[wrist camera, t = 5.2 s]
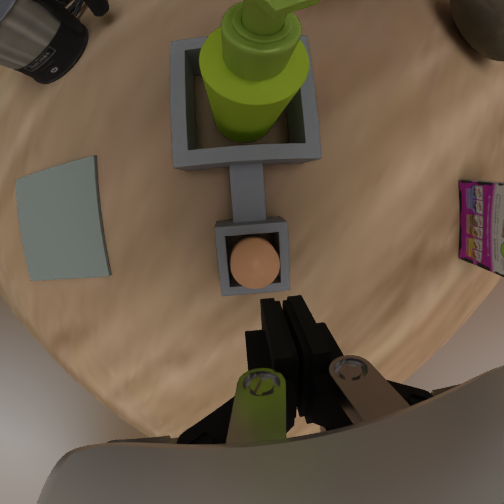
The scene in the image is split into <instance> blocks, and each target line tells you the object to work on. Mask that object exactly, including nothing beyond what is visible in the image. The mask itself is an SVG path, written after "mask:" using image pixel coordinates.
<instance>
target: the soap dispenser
mask: <svg viewBox="0 0 504 504" xmlns="http://www.w3.org/2000/svg"><path fill="white" fill-rule="evenodd" d="M318 2H319V0H243V2H240V3H238V4H236V5H234V6H232V7H231V8H230V9H229V10H228V11H227V12H226V13H225V15H224V16H223V19H222V22H221V27H219V28H217V29H216V30H215V31H214V32H212V33H211V34H210V35H209V36H208V38H207V39H206V40H205V42H204V44H203V46H202V48H201V51H200V55H199V66H200V71H201V74H202V78H203V81H204V85H205V88H206V92H207V96H208V99H209V103H210V106H211V110H212V113H213V117H214V121H215V124H216V126H217V128H218V130H219V131H220V132H221V133H222V134H223V135H224V136H225V137H227V138H229V139H231V140H233V141H236V142H252V141H255V140H258V139H260V138H261V137H263V136H264V135H265V134H266V133H267V132H268V131H269V130H270V128H271V127H272V126H273V124H274V123H275V121H276V120H277V119H278V117H279V116H280V114H281V113H282V112H283V110H284V109H285V108H286V106H287V105H288V104H289V102H290V101H291V100H292V98H293V97H294V96H295V94H296V93H297V92H298V90H299V89H300V88H301V86H302V85H303V83H304V82H305V80H306V78H307V75H308V71H309V57H308V53H307V50H306V48H305V46H304V45H303V43H302V42H301V40H300V37H301V24H300V21H299V19H298V18H297V16H296V15H295V14H294V13H293V12H295V11H298V10H301V9H304V8H307V7H310V6H313V5H316V4H318Z"/></svg>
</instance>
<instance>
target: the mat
mask: <svg viewBox="0 0 504 504" xmlns="http://www.w3.org/2000/svg"><path fill="white" fill-rule="evenodd" d="M15 186H16V199H17V209H18V217H19V225H20V232H21V238H22V243H23V249H24V254H25V259H26V263H27V267H28V272H29V276H30V280H31V281H38V280H56V279H73V278H90V277H105V276H110V275H111V270H110V265H109V260H108V254H107V249H106V243H105V237H104V230H103V223H102V215H101V207H100V198H99V187H98V174H97V156H90V157H86V158H82V159H79V160H75V161H72V162H68V163H65V164H61V165H58V166H55V167H52V168H48V169H45V170H42V171H39V172H36V173H34V174H31V175H28V176H25V177H22V178H20V179H17V180H15Z"/></svg>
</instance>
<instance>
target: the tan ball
mask: <svg viewBox="0 0 504 504" xmlns="http://www.w3.org/2000/svg"><path fill="white" fill-rule="evenodd" d="M279 269H280V260H279V256H278V254H277V252H276V251H275V249H274V248H273V246H272V245H271V243H270V242H269V241H268V240H267V239H266V238H264V237H262V236H260V235H255V234H251V235H246V236H244V237H242V238H240V239H239V240H238V241H237V242H236V243H235V244H234V246H233V248H232V250H231V272H232V275H233V277H234V278H235V280H236V281H237V282H238V283H239V284H241V285H242V286H244V287H247V288H251V289H259V288H263V287H265V286H267V285H269V284H270V283H272V282H273V281H274V280H275V278H276V277H277V275H278V273H279Z"/></svg>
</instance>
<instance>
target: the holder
mask: <svg viewBox="0 0 504 504" xmlns="http://www.w3.org/2000/svg"><path fill="white" fill-rule="evenodd" d="M207 38H208V36H207V37H198V38H190V39H184V40H177V41H171V49H170V110H171V137H172V155H173V168H176V169H180V170H184V171H193V170H202V169H212V168H223V167H229V171H230V185H231V198H232V211H233V220H225V221H217V223H216V225H215V239H216V249H217V258H218V268H219V277H220V286H221V294H222V296H231V295H243V294H254V293H265V292H275V291H285V290H290V265H289V237H288V222H287V221H286V220H284V219H283V218H282V217H280V216H277V217H266V207H265V191H264V176H263V165H267V164H293V163H305V162H309V161H313V160H317V159H321V158H322V157H321V144H320V132H319V121H318V112H317V103H316V94H315V86H314V79H313V71H312V64H311V58H310V52H309V46H308V40H307V36H303V35H301V37H300V40H301V42H302V43H303V45H304V46H305V48H306V50H307V53H308V57H309V71H308V75H307V78H306V80H305V82H304V83H303V85H302V86H301V88H300V89H299V90H298V92H297V93H296V94H295V96H294V97H293V98H292V100H291V101H290V102H289V104H288V105H287V106H286V111H287V122H288V134H289V144H259V145H241V146H228V147H216V148H206V149H197V141H196V122H195V99H194V75H201V71H200V66H199V55H200V51H201V48H202V46H203V44H204V42H205V40H206V39H207ZM271 232H273V247H274V249H275V251H276V252H277V254H278V256H279V260H280V269H279V273H278V275H277V277H276V278H275V280H274V281H273V282H272V283H270V284H269V285H267V286H265V287H263V288H259V289H251V288H247V287H244V286H242V285H241V284H239V283H238V282H237V281H236V280H235V278H234V277H233V275H232V273H230V268H229V258H228V247H227V236H234V235H246V234H258V233H271Z"/></svg>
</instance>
